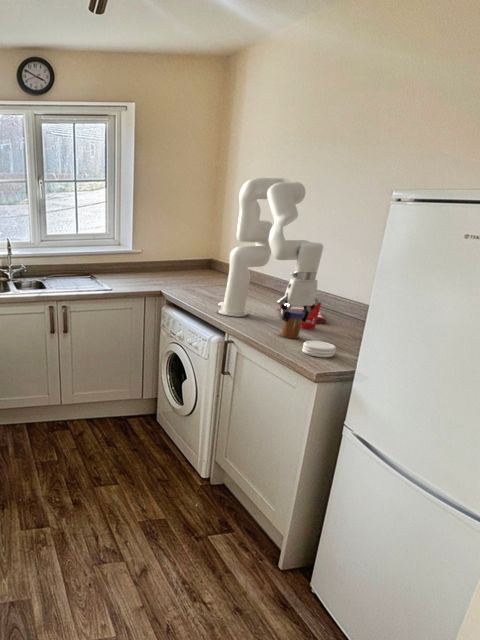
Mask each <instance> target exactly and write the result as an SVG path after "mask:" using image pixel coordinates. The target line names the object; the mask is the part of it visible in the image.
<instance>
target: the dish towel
mask: <svg viewBox="0 0 480 640" xmlns="http://www.w3.org/2000/svg"><path fill="white" fill-rule="evenodd" d="M278 308H279V309H278V310H279V313H280V315H281V316H282V314H283V310H282V308H281V307H280V305H279V306H278ZM290 310H299V311H302V310H304V307H303V306H292V307H291V308H290ZM326 322H327V319H326V317H324V316H323V314H322V313H321V312H320V311H319V314H318V317H317V321H316V323H319V324H324V323H326Z"/></svg>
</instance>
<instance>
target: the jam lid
mask: <svg viewBox="0 0 480 640" xmlns="http://www.w3.org/2000/svg"><path fill="white" fill-rule="evenodd" d="M288 312H290V313H289V317H291V318H304V316H305V312H303V311H299V310H289V311H288Z"/></svg>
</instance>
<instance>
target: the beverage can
mask: <svg viewBox="0 0 480 640" xmlns="http://www.w3.org/2000/svg"><path fill="white" fill-rule="evenodd" d="M317 300H318V301H319V304H318V305H316V306H315V307H314V308H313V309H312V310H311V311H310V312H309V313H308V317H307V319H306V322H303V321H302V324H301V329H304V330H308V331H309V330H314V328H315V327H316V324H317V322H316V321H317V317H318V314H319V312H320V310H321V306H322V301H321V300H320V299H317Z"/></svg>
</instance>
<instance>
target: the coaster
mask: <svg viewBox="0 0 480 640" xmlns="http://www.w3.org/2000/svg"><path fill="white" fill-rule="evenodd" d="M336 349H337V347H336V346H335V345H334V344H332V343H329V342H326V341H322V340H306V341H304V342H303V344H302V349H301V352H302V353H303V354H305V355H308V356H311V357H317V358H323V359H324V358H325V359H326V358H333V357H334V355H335V352H336Z"/></svg>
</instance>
